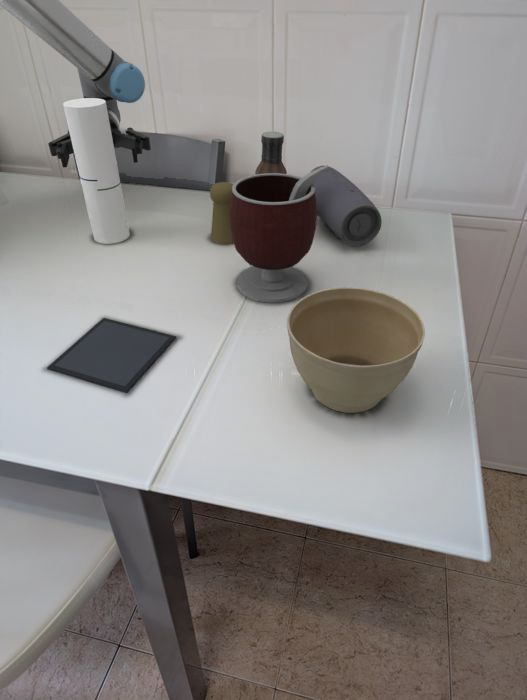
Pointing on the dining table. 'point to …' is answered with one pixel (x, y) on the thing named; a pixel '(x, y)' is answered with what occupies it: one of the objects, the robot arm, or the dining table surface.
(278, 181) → the mate gourd
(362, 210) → the bluetooth speaker
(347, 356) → the planter bowl
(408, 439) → the dining table surface
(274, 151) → the sauce bottle
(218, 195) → the olive pepper mill
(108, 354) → the charcoal mat
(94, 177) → the cylindrical container
